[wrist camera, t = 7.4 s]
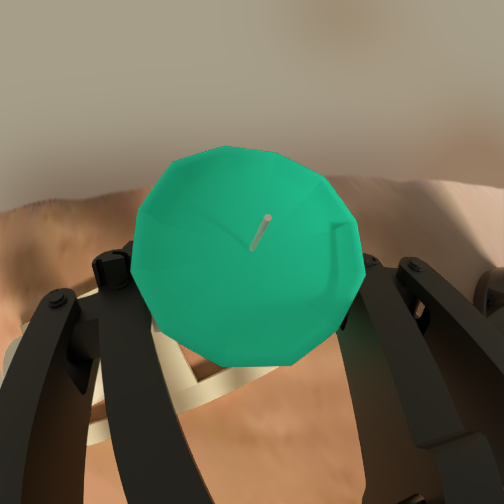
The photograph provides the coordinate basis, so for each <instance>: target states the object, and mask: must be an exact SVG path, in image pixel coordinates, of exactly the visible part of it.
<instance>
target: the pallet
mask: <svg viewBox="0 0 504 504" xmlns="http://www.w3.org/2000/svg"><path fill="white" fill-rule="evenodd" d="M97 292H98V288H96V289H94V290H92V291H90V292H88V293H85V294H83V295H81V296H79V297H77V299H78V298H82V297H86V296H90V295H92V294H95V293H97ZM29 322H30V321H29ZM29 322H27V323H25V324H23V325H21V326H20V327H21V330H22V333H23V334H24V332H25V330H26V328H27V326H28V324H29ZM151 333H152V336H153V340H154V344H155V347H156V351H157V354H158V358H159V361H160V365H161V368H162V371H163V375H164V378H165V381H166V384H167V387H168V390H169V393H170V396H171V399H172V402H173V405H174V408H175V411H176V414H177V415H179V414H182V413H184V412H186V411H189V410H191V409H193V408H196V407H198V406H200V405H203V404H205V403H207V402H209V401H212V400H214V399H216V398H218V397H220V396H223V395H225V394H227V393H229V392H231V391H233V390H235V389H237V388H239V387H241V386H243V385H245V384H247V383H249V382H251V381H253V380H255V379H257V378H259V377H261V376H263V375H265V374H267V373H269V372H270V371H272V370H274V369H276V368H278V367H280V366H272V367H228V368H225V369H223V370H221V371H219V372H217V373H215V374H213V375H211V376H208V377H206V378H204V379H202V380H200V381H198V380H197V378H196V376H195V374H194V372H193V371H192V369H191V367H190V365H189V363H188V361H187V359H186V357H185V355H184V353H183V351H182V349H181V347H180V345H179V343H178V342H176V341H174V340H173V339H171V338H169V337H168V336H166V335H164V334H163V333H162V332H154V328H153V325H152V326H151ZM109 439H111V435H110V430H109V424H108V418H104V419H101V420H98V421H95V422H92V423H89V429H88V437H87V446H88V445H92V444H96V443H99V442H102V441H106V440H109Z"/></svg>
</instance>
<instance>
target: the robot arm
mask: <svg viewBox="0 0 504 504" xmlns="http://www.w3.org/2000/svg"><path fill="white" fill-rule="evenodd" d="M133 242H134V241H129V242H128V243H127V244H126V245H125V246H124V247H123V248H122V249H117V250H111V251H107V252H104V253H102V254H100V255H98V256H97V257H96V258H95V259H94V260H93V262H92V268H93V271H94V275H95V278H96V282H97V285H98V292H97V293H95V294H92V295H90V296H86V297H82V298H78V299H77V297H76V294H75V292H74V291H73V290H71V289H68V288H61V289H56V290H53V291H51V292H50V293H48V294H47V295H46V296H44V298H43V299H42V300H41V302H40V303H39V305H38V307H37V309H36V311H35V313H34V315H33V316H32V318H31V320H30V322H29V324H28V326H27V328H26V330H25V332H24V334H23V336H22V339H21V341H20V343H19V345H18V347H17V349H16V352H15V354H14V356H13V358H12V361H11V363H10V365H9V368H8V370H7V373H6V375H5V378H4V380H3V383H2V386H1V388H0V504H83V494H84V471H85V457H86V447H87V437H88V429H89V421H90V414H91V407H92V401H93V395H94V389H95V384H96V378H97V373H98V368H99V363H100V361H101V372H102V382H103V390H104V398H105V405H106V412H107V418H108V424H109V430H110V435H111V440H112V445H113V450H114V454H115V459H116V463H117V467H118V471H119V475H120V479H121V482H122V486H123V489H124V493H125V496H126V499H127V502H128V504H215V503H214V501H213V499H212V497H211V495H210V493H209V491H208V488H207V486H206V484H205V482H204V480H203V478H202V476H201V473H200V471H199V469H198V467H197V464H196V462H195V460H194V457H193V455H192V453H191V450H190V448H189V445H188V443H187V440H186V438H185V435H184V433H183V430H182V427H181V425H180V422H179V419H178V416H177V414H176V411H175V408H174V405H173V402H172V399H171V396H170V393H169V390H168V387H167V384H166V381H165V378H164V375H163V371H162V368H161V365H160V361H159V358H158V354H157V351H156V347H155V344H154V340H153V336H152V333H151V326H152V325H153V328H154V332H161V330H160V329H159V327H158V325H157V323H156V321H155V320H154V318H153V316H152V314H151V312H150V310H149V308H148V306H147V304H146V302H145V300H144V299H143V297H142V295H141V293H140V291H139V289H138V287H137V284H136V282H135V280H134V278H133V276H132V274H131V272H130V271H131V260H132V250H133ZM362 254H363V260H364V266H365V273H366V276H365V278H364V280H363V282H362V284H361V286H360V288H359V290H358V292H357V294H356V296H355V298H354V300H353V302H352V304H351V306H350V308H349V310H348V312H347V314H346V316H345V318H344V319H343V321H342V323H341V325H340V327H339V329H338V330H337V331H336V334H337V337H338V341H339V345H340V349H341V353H342V358H343V362H344V366H345V371H346V375H347V380H348V385H349V389H350V394H351V399H352V404H353V409H354V414H355V419H356V424H357V430H358V435H359V441H360V446H361V452H362V459H363V465H364V471H365V478H366V489H365V492H364V495H363V498H362V504H504V267H500V268H495V269H493V270H490V271H487V272H486V273H485V274H484V275H483V276H482V277H481V279H480V281H479V283H478V285H477V289H476V292H475V298H474V306H473V305H472V304H471V303H470V302H469V301H468V300H467V299H466V298H465V297H464V296H463V295H462V294H461V293H460V292H458V291H457V290H456V289H455V288H454V287H453V286H452V285H451V284H450V283H449V282H448V281H446V280H445V279H444V278H443V277H442V276H441V275H440V274H438V273H437V272H436V271H435V270H434V269H433V268H432V267H430V266H429V265H428V264H427V263H425V262H424V261H422V260H420V259H419V258H416V257H415V258H414V257H404V258H402V259H401V260H400V262H399V265H398V269H397V268H386V267H383V265H382V264H381V262H380V261H379V260H378V259H377V258H376V257H374V256H372V255H369V254H366V253H362ZM420 301H421V302H422V303H423V304H424V305H425V308H424V311H423V313H422V315H421V317H419V316H417V315H416V311H417V309H418V306H419V304H420Z"/></svg>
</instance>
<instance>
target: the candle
mask: <svg viewBox="0 0 504 504" xmlns="http://www.w3.org/2000/svg"><path fill="white" fill-rule="evenodd" d="M130 272H131V274H132V276H133V278H134V280H135V282H136V284H137V287H138V289H139V291H140V293H141V295H142V297H143V299H144V300H145V302H146V304H147V306H148V308H149V310H150V312H151V314H152V316H153V318H154V320H155V321H156V323H157V325H158V327H159V329H160V330H161V332H162V333H163V334H164V335H166V336H168V337H169V338H171V339H173V340H174V341H176V342H178V343H180V344H181V345H183V346H185V347H186V348H188V349H190V350H192V351H193V352H195V353H197V354H199V355H201V356H202V357H204V358H206V359H208V360H210V361H212V362H213V363H215V364H217V365H219V366H221V367H272V366H291V365H293V364H294V363H296V362H297V361H298V360H300V359H301V358H302V357H304V356H305V355H306V354H308V353H309V352H310V351H312V350H313V349H314V348H316V347H317V346H318V345H319V344H321V343H322V342H323V341H325V340H326V339H327V338H328V337H330V336H331V335H332V334H333V333H335V332H336V331H337V330H338V329H339V327H340V325H341V323H342V321H343V319H344V318H345V316H346V314H347V312H348V310H349V308H350V306H351V304H352V302H353V300H354V298H355V296H356V294H357V292H358V290H359V288H360V286H361V284H362V282H363V280H364V278H365V276H366V273H365V266H364V260H363V254H362V248H361V242H360V236H359V231H358V226H357V221H356V219H355V218H354V217H353V215H352V214H351V212H350V211H349V209H348V208H347V207H346V205H345V204H344V202H343V201H342V199H341V198H340V197H339V195H338V194H337V193H336V191H335V190H334V188H333V187H332V186H331V184H330V183H329V182H328V180H327V179H326V178H325V177H324V176H322V175H320V174H318V173H316V172H314V171H312V170H310V169H309V168H307V167H305V166H302V165H301V164H299V163H297V162H294V161H292V160H291V159H289V158H286V157H284V156H282V155H280V154H278V153H274V152H267V151H260V150H253V149H245V148H238V147H229V146H222V147H219V148H215V149H212V150H208V151H205V152H202V153H199V154H195V155H192V156H189V157H185V158H182V159H179V160H176V161H173V162H172V163H171V165H170V166H169V167H168V169H167V170H166V171H165V173H164V174H163V175H162V177H161V178H160V179H159V181H158V182H157V183H156V185H155V186H154V188H153V189H152V190H151V192H150V193H149V195H148V196H147V198H146V199H145V201H144V202H143V203H142V205H141V206H140V208H139V209H138V211H137V218H136V226H135V233H134V242H133V250H132V260H131V271H130Z"/></svg>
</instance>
